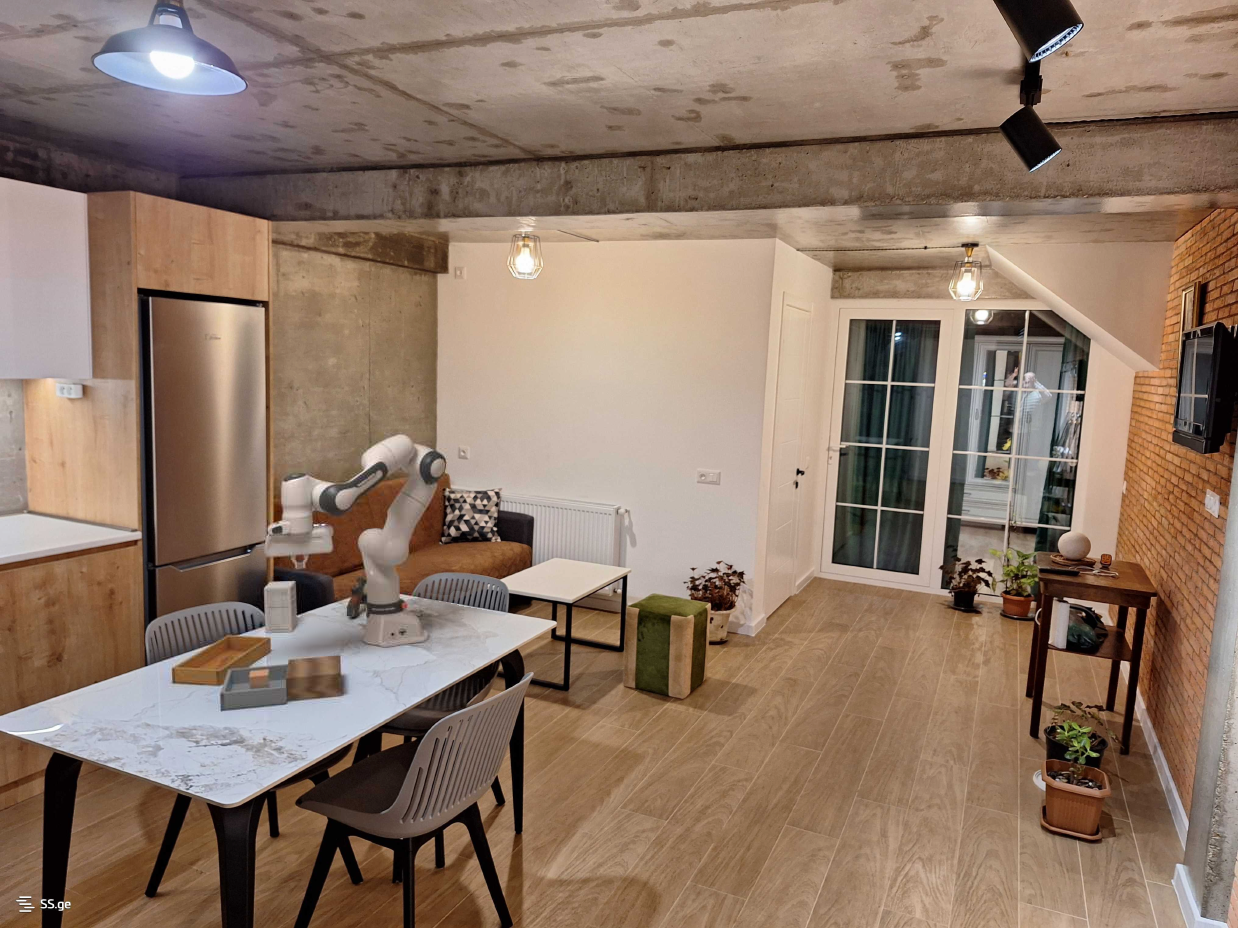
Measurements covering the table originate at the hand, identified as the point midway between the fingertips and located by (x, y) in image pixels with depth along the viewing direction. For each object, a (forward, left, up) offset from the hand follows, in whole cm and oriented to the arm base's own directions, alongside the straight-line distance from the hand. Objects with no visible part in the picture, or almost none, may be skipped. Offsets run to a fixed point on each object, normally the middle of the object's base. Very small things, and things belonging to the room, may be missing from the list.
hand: (300, 568), depth 262 cm
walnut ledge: (-4, +19, -33) cm, 38 cm away
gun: (-22, -63, -33) cm, 74 cm away
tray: (+24, -8, -33) cm, 42 cm away
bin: (+12, +19, -33) cm, 40 cm away
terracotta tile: (+11, +19, -29) cm, 37 cm away
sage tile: (+11, +19, -29) cm, 37 cm away
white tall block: (+9, -45, -33) cm, 56 cm away
